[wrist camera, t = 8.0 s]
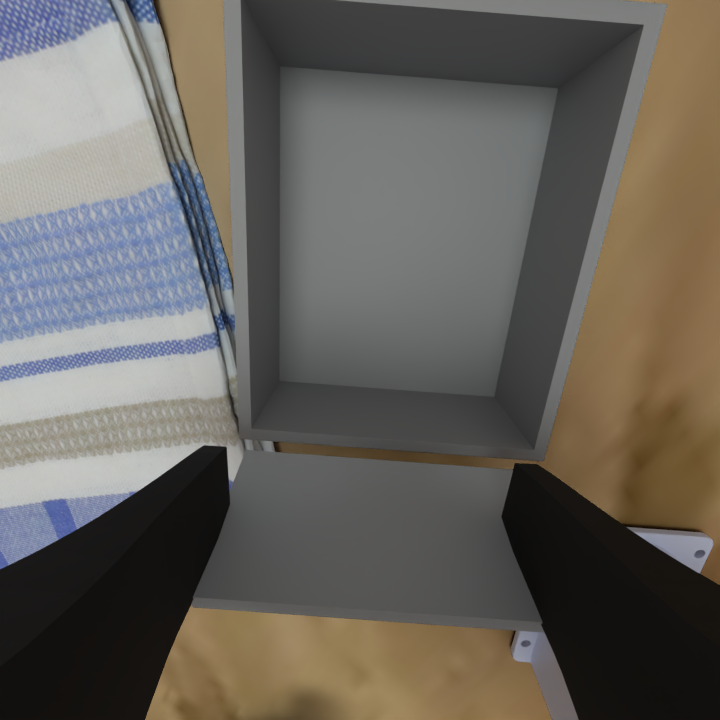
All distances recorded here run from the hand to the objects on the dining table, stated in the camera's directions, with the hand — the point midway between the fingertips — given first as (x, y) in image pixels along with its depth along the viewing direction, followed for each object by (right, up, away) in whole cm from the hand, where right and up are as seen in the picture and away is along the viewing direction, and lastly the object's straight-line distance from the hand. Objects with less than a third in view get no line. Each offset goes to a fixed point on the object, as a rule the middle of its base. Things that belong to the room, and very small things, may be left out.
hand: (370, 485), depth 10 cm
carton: (+1, +8, +4) cm, 9 cm away
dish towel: (-13, +4, +7) cm, 16 cm away
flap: (+1, -1, 0) cm, 1 cm away
